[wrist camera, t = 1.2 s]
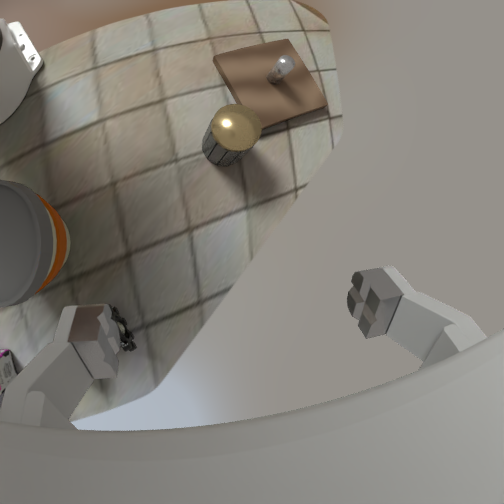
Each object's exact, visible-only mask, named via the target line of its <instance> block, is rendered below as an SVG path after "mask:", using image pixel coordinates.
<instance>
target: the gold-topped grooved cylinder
mask: <svg viewBox="0 0 504 504" xmlns="http://www.w3.org/2000/svg"><path fill="white" fill-rule="evenodd" d="M261 131H262V126H261V122H260V119H259V117H258V116H257V115H256V113H255V112H254V111H253V110H251V109H250V108H248V107H246V106H244V105H240V104H230V105H226V106H224V107H222V108H221V109H220V110H218V111H217V113H216V114H215V116H214V118H213V119H212V120H211V123H210V125H209V127H208V129H207V131H206V133H205V135H204V137H203V143H202V150H203V152H204V154H205V156H206V158H208V160H209V161H211V162H212V163H214V164H215V165H216V164H217V165H219V166H229V165H232V164H234V163H236V162H238V161H239V160H240V159H241V158H242V157H243V156H244V155H245V154H246V153H247V152H248V151H249V150H250V149H251V148H252V147H253V146H254V144H255V143H256V142H257V141H258V140H259V138H260V136H261Z"/></svg>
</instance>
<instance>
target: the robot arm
mask: <svg viewBox="0 0 504 504" xmlns="http://www.w3.org/2000/svg"><path fill="white" fill-rule="evenodd" d="M33 59H34V60H33ZM32 60H33V61H32ZM42 64H43V59H42V58H41V56H40V55H39V53H38V51H37V50H36V48H35V47H34V45H33V43H32V42H31V40H30V38H29V37H28V35H27V33H26V32H25V30H24V28H23V27H22V25H21V24H20V22H14V23H10V24H7V23H6V21H5V20H4V19H0V124H1V123H2V122H4V121H5V120H6V119H7V118H8V117H9V116H10V115H11V114H12V113H13V112H14V111H15V110H16V109H17V107H18V106H19V105H20V103H21V102H22V100H23V98H24V97H25V95H26V93H27V91H28V88H29V86H30V83H31V80H32V78H33V77H34V75H35V74H36V73H37V72H38V70H39V69H40V68H41V66H42ZM351 282H352V284H353V285H354V286H353V287H352V288H351V289H350V291H349V292H348V296H347V305H348V309H349V311H350V313H351V315H352V317H354V318H356V319H358V320H359V323H358V327H359V328H360V330H361V331H362V333H363V334H364V336H365V338H366V339H367V338H372V337H376V336H380V335H384V334H386V336H388V337H390V338H391V339H392V340H394V341H395V342H397V343H398V344H400V345H401V346H402V347H404V348H405V349H407V350H408V351H409V352H411V353H412V354H414V355H415V356H417V357H418V358H419V359H421V360H422V361H424V362H423V364H422V365H421V367H420V368H419V370H418V371H416V372H413V373H411V374H409V375H406V376H403V377H401V378H398V379H396V380H393V381H390V382H387V383H385V384H382V385H379V386H376V387H373V388H370V389H367V390H364V391H361V392H358V393H355V394H351V395H348V396H345V397H341V398H338V399H335V400H331V401H327V402H324V403H320V404H316V405H313V406H308V407H305V408H300V409H296V410H292V411H288V412H283V413H279V414H273V415H268V416H264V417H258V418H253V419H247V420H241V421H235V422H229V423H221V424H214V425H206V426H197V427H187V428H175V429H161V430H140V431H94V430H78V429H77V428H76V427H75V426H74V425H73V424H72V423H71V422H70V421H69V420H68V419H69V418H70V416H71V414H72V413H73V411H74V410H75V408H76V407H77V405H78V404H79V402H80V401H81V399H82V397H83V396H84V394H85V393H86V391H87V390H88V388H89V387H90V385H91V384H92V382H93V381H94V380H93V379H103V378H117V373H118V362H119V361H118V359H117V357H116V354H117V353H118V351H119V350H120V334H119V330H118V327H117V324H116V322H115V321H113V320H112V319H111V315H112V311H111V309H110V307H109V305H108V304H106V303H104V304H87V305H75V306H66V307H64V308H63V311H62V314H61V317H60V320H59V323H58V326H57V329H56V333H55V336H54V339H53V343H49V344H48V345H47V346H45V347H44V348H43V349H42V350H41V351H40V352H39V354H38V355H37V356H36V357H35V358H34V359H33V360H32V361H31V362H30V363H29V364H28V365H27V366H26V367H25V368H24V369H23V370H22V371H21V372H20V373H19V374H18V375H17V376H16V377H15V378H14V379H13V380H12V382H11V383H10V384H9V385H8V386H7V387H6V389H5V393H4V397H3V401H2V405H1V409H0V504H504V329H502V330H500V331H499V332H497V333H495V334H493V335H491V336H489V337H488V338H487V336H486V335H485V334H484V333H483V331H482V330H481V329H480V328H479V327H478V325H477V324H476V323H475V322H474V321H473V319H472V318H471V317H470V316H469V315H467V314H465V313H462V312H461V311H459V310H456V309H454V308H452V307H450V306H448V305H446V304H444V303H442V302H440V301H438V300H436V299H434V298H432V297H430V296H427V295H425V294H423V293H421V292H416V291H415V290H414V289H413V288H412V287H411V286H410V285H409V283H408V282H407V281H406V280H405V279H404V278H403V276H402V275H401V274H400V273H399V272H398V271H397V270H396V269H395V268H394V267H393V266H391V265H390V266H385V267H380V268H375V269H370V270H364V271H358V272H355V273H354V274H353V276H352V280H351Z"/></svg>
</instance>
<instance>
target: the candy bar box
mask: <svg viewBox="0 0 504 504" xmlns="http://www.w3.org/2000/svg"><path fill="white" fill-rule="evenodd" d="M16 376H17V373H16V369H15V366H14V363H13V359H12V355H11V352H10V350H0V395H1V394H2V393H3V392H4V391H5V389H6V387H7V386H8V385H9V384H10V383H11V382H12V380H13V379H14V378H15V377H16Z"/></svg>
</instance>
